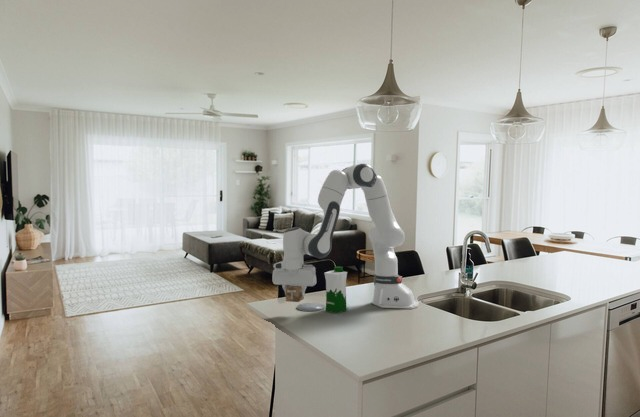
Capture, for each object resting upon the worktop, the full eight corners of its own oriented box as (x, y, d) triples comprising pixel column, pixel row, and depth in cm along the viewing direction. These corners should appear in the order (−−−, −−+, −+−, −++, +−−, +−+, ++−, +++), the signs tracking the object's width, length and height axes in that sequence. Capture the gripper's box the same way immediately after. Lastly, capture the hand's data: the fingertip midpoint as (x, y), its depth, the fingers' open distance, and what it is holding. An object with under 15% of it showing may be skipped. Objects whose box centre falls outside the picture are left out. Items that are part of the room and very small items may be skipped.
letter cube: (303, 298, 188) (303, 285, 187) (298, 302, 182) (297, 288, 182) (291, 298, 190) (291, 284, 190) (285, 301, 184) (285, 287, 184)
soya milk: (349, 310, 194) (349, 267, 193) (336, 314, 187) (336, 269, 187) (335, 307, 200) (334, 265, 199) (322, 311, 193) (321, 267, 193)
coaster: (328, 305, 203) (328, 304, 203) (318, 312, 191) (318, 310, 191) (303, 303, 208) (303, 301, 208) (292, 310, 195) (292, 308, 195)
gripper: (318, 263, 185) (319, 294, 185) (276, 262, 192) (277, 292, 192) (312, 265, 179) (313, 298, 179) (270, 264, 186) (271, 295, 187)
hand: (294, 295), depth 186 cm, fingers closed on letter cube, 6 cm apart
